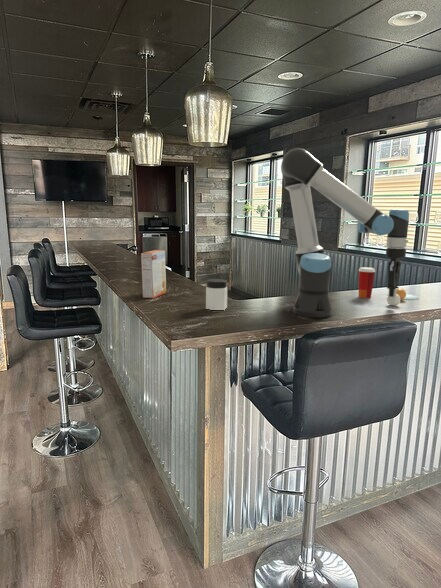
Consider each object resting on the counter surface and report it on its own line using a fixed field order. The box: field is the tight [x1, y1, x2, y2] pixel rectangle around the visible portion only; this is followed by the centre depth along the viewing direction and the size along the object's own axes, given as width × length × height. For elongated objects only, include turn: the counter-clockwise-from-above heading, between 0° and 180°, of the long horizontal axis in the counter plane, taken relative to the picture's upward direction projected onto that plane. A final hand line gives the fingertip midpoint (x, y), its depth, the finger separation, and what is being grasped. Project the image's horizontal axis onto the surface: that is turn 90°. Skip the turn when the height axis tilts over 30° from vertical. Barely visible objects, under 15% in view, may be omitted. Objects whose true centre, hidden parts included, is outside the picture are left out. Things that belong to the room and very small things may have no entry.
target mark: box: [386, 293, 420, 301], centre depth 200 cm, size 14×14×1 cm
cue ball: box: [386, 294, 401, 307], centre depth 180 cm, size 6×6×6 cm
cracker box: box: [140, 249, 167, 299], centre depth 193 cm, size 14×6×21 cm, turn 162°
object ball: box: [396, 288, 407, 301], centre depth 192 cm, size 6×6×6 cm
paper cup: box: [357, 266, 376, 299], centre depth 197 cm, size 8×8×14 cm
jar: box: [205, 278, 228, 311], centre depth 169 cm, size 9×8×12 cm
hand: (391, 303), depth 174 cm, fingers closed
